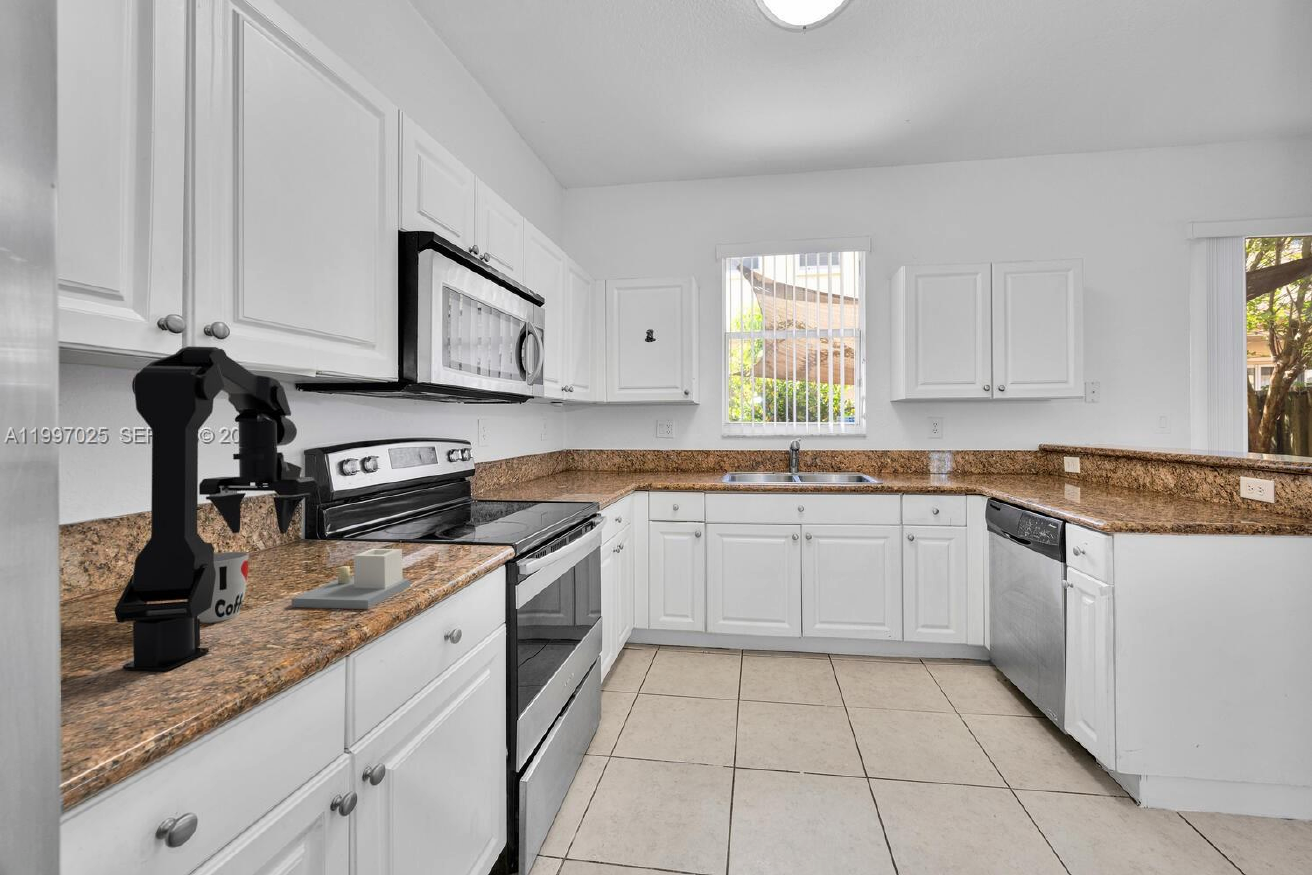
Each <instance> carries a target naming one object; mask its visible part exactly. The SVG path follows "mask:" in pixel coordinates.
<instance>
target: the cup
mask: <svg viewBox="0 0 1312 875" xmlns="http://www.w3.org/2000/svg"><path fill="white" fill-rule="evenodd" d="M249 555H250V554H249V553H248V552H244V551H228V552H227V551H226V552H224V551H223V552H218V553H217V552H214V567H215V571H216V579H215V585H214V591H213V598H212V604H211V608H209V609H208V610H206V611H204V612H202V613H201V614H199V615H198V617H199V619H200V623H204V624H205V623H206V624H208V623H209V624H211V623H218V622H225V621H228V620H231V619H235V618H236V617H238V616H239V614H240V612H241V609H242V605H243V602H244V600H245V595H246V589H247V584H248V577H249V576H248V575H249V574H248V573H249Z"/></svg>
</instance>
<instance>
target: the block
mask: <svg viewBox="0 0 1312 875" xmlns="http://www.w3.org/2000/svg"><path fill="white" fill-rule="evenodd" d="M353 577H354V588H379V589H385V588H387V587H389V586H391V585H393V584H395V583H397V582H399V581H401V580H402V578H403V548H371V549H368V550H365V551H363V552H360V553H357V554H354V555H353Z"/></svg>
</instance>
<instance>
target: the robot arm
mask: <svg viewBox="0 0 1312 875" xmlns="http://www.w3.org/2000/svg"><path fill="white" fill-rule="evenodd" d="M131 384H132V385H131V387H132V392H133V395H134V400H135V409H136V411H137V412H138V414H139V415H140V416H141V418H142V419H143V421H144V422H145V423H146V425H148V427H149V428H150V429H151V505H150V506H151V509H150V510H151V511H150V512H151V513H150V514H151V515H150V516H151V519H150V520H151V522H150V524H151V525H150V529H151V530H150V538H149V539H148V541H147V542H146V544H145V545H144V547H143V548H142V549H141V551H139V553H138V554H137V556H136V557H135V560H134V564H133V573H132V574H131V576H130V579H129V580H128V582H127V585H126V586H125V588H124V590H123V592H122V594H121V596H120V597H119V600H118V601H117V604H116V605H115V608H114V615H115V618H116V621H117V623H118V624H123V623H125V622H127V623H128V622H129V623H130V622H132V643H133V644H132V645H133V646H132V647H133V650H132V652H133V660H132V661H129V662H128V663H125V664H123V665H122V670H130V671H153V672H154V671H156V672H157V671H158V672H161V671H162V672H164V671H170V670H173V669H174V668H177V667H179V666H181V665H183V664H186V663H187V662H190V661H193V660H194V659H196V658H198V657H200V656H203V655H206V654H207V653H210V649H209V647H201V627H200V626H201V625H200V624H201V621H200V619H199V617H198V615H199V614H201V613H202V612H204V611H206V610H208V609H209V608H211V604H212V598H213V591H214V585H215V579H216V571H215V567H214V553H215V547H214V545H213V543H211V542H206V541H204V539H203V538H202V537H201V536H200V534H199V531H198V510H199V509H198V501H199V500H198V499H199V498H198V497H199V496H203V495H205V499H206V500H207V501H210V502H211V503H212V505H213V506H214V507H215V509H217V511H218V512H219V514H220V515H221V517H222V518H223V520H224V522H225V523H226V524H227V527H228V528H229V529H230V531H231V532H232V534H238V533H240V532H241V531H240V530H241V524H242V523H241V518H242V517H241V509H242V508H241V505H242V504H241V503H242V501H243V500H244V498H245V496H246V492H249V491H250V492H251V491H252V492H255V491H256V492H275V493H276V494H277V496H274V497H273V504H274V510H275V516H276V520H277V527H278V530H279V532H280V533H279V534H281V535H285V534H287V533H288V530H289V528H290V525H291V523H292V520H293V517H294V515H295V512H296V510H297V508H298V506H299V504H301V502H302V501H303V500H304V499H305V498H309V497H310V496H311V494H312V493H317V492H318V482H317V481H316V480H315V478H314V477H313V476H301V472H302V470H303V469H302V467H301V466H299V465H296V464H295V463H291V462H288V461H285V457H284V456H285V455H284V454H283V452H279V451H278V447H280V446H282V447H283V446H286V445H289V444H291V443H292V442H293V441H295V439H296V436H297V433H298V430H297V427H296V425H295V423H294V422H293V420H291V419H290V418H288V417H290V416H292V411H291V409H290V405H289V402H288V398H287V394H286V391H285V389H284V386H283V385H281V383H280V381H279V380H278V379H276V378H273V377H270V376H266V375H260V374H259V375H258V374H254V373H253V372H251V371H249V370H248V369H247V368H245V367H244V366H242V365H241V364H239V363H238V362H236V361H235V360H233V359H232V358H231V357H229V356H228V355H227V352H226V351H225V350H224V349H223V348H219V347H217V346H195V345H193V346H186V347H182V348H180V349H179V350H178V351H177V352H176V353H174V354H172V355H169V356H165V357H163V358H160V359H157V360H155V361H152V362H149V363H148V364H147V365H146V366H144V367H143V368H142V369H141V370H140V371H139V372H137V373H135V375H134V377H133V379H132V383H131ZM221 391H223V392H224V393H227V394H228V399H227V400H228V402H229V403H230V404H231V405H232V406H233V407H234V409H235V410H236V413H239V414H237V415H236V417H235V418H234V421H235V422H236V423H238V424H237V425H238V453H233V454H232V457H233V458H232V459H233V460H237V461H239V462H238V466H239V467H238V468H239V470H238V472H239V473H238V474H239V475H238V476H218V477H210V478H209V477H207V478H203V479H202V480H201V481H200V483H198V482H199V479H198V478H199V476H198V475H199V471H198V470H199V466H198V465H199V460H198V459H199V430H200V429H201V427H202V426H203V425H204V423H205V422H206V421H207V420H208V418H209V417H210V416H211V414H212V413H213V409H214V399H215V398H216V396H218V394H219V393H220V392H221ZM198 484H199V485H198ZM252 484H254V485H252ZM198 490H199V491H198ZM244 491H245V492H244ZM198 492H199V493H198ZM198 494H199V496H198ZM206 495H207V496H206ZM168 601H171V602H168ZM173 601H174V602H173ZM154 602H156V603H154ZM157 602H158V603H157Z"/></svg>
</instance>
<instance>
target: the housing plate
mask: <svg viewBox="0 0 1312 875" xmlns="http://www.w3.org/2000/svg"><path fill="white" fill-rule="evenodd" d="M350 568H351V567H350V566H349V565H344V566H339V567H337V579H334V580H332V581H330V582H328V583H324V584H322V585H320V586H318V587H316V588H313V589H311V590H309V591H306V592H303V593H301V594H299V595H295V596H294V597H291V604H290V605H291V607H292V608H312V609H313V608H317V609H319V608H320V609H349V610H350V609H351V610H352V609H354V610H369V609H371V608H372V607H374V606H376V605H378V604H380V603H382V602H383V601H386V600H387V599H389V598H391V597H393V596H394V595H397V594H398V593H400V592H402V591H404V590H406V589H407V588H409V587H411V578H403V577H402V580H401V581H399V582H397V583H395V584H393V585H391V586H389V587H387V588H385V589H379V588H354V576H353V577H351V572H350V571H351V570H350Z"/></svg>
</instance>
